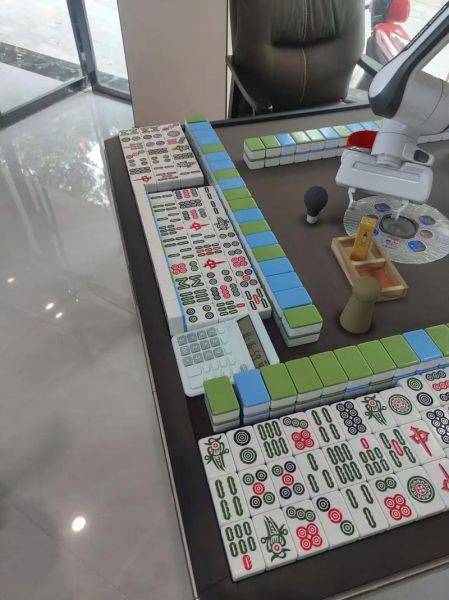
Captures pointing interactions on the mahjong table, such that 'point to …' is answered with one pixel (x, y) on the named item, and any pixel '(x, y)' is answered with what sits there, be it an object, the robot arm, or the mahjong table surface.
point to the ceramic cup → (362, 139)
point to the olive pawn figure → (361, 305)
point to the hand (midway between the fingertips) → (372, 214)
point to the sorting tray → (370, 267)
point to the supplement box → (363, 238)
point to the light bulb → (315, 202)
